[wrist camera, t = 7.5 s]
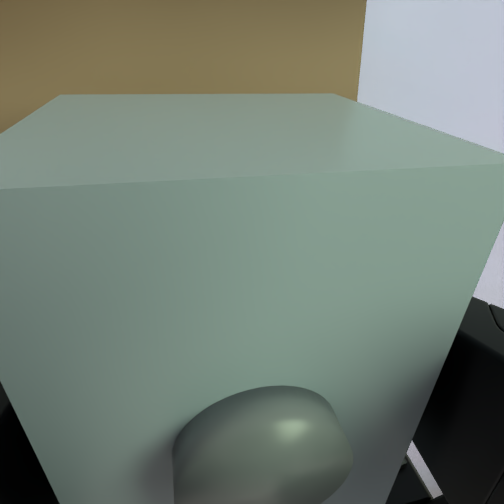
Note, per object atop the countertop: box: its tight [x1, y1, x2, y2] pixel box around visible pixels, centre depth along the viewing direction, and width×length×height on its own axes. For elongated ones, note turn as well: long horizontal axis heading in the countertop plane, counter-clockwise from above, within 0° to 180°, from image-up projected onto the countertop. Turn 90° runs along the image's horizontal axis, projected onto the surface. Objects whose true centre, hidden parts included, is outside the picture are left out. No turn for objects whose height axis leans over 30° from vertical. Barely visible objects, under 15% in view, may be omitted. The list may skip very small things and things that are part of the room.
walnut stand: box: [0, 0, 367, 134], centre depth 12 cm, size 12×9×3 cm
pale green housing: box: [0, 93, 504, 504], centre depth 7 cm, size 6×8×6 cm
